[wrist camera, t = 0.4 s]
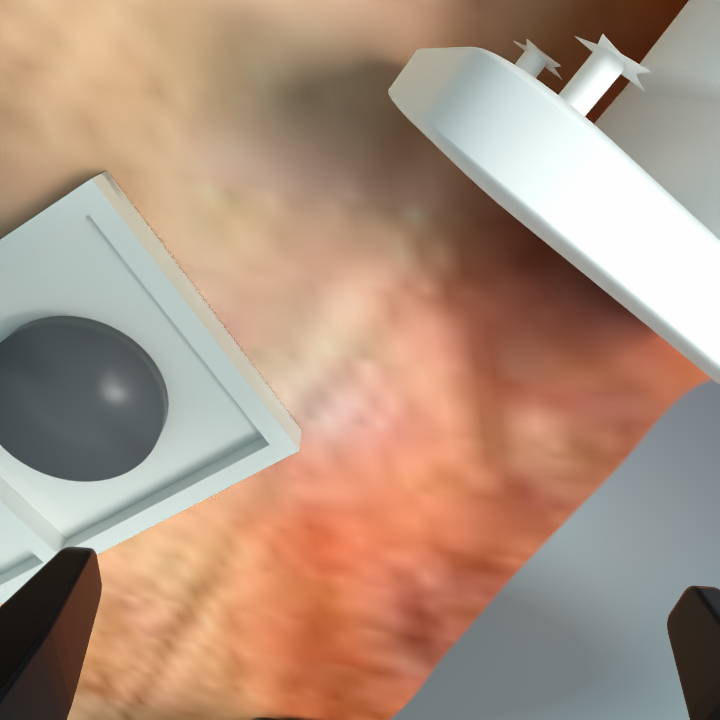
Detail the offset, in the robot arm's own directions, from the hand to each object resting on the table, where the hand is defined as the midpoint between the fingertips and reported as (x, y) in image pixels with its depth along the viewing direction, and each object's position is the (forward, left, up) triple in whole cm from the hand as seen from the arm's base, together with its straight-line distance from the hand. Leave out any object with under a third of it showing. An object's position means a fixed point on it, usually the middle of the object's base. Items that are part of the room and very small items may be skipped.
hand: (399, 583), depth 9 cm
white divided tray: (-11, +13, -14) cm, 22 cm away
